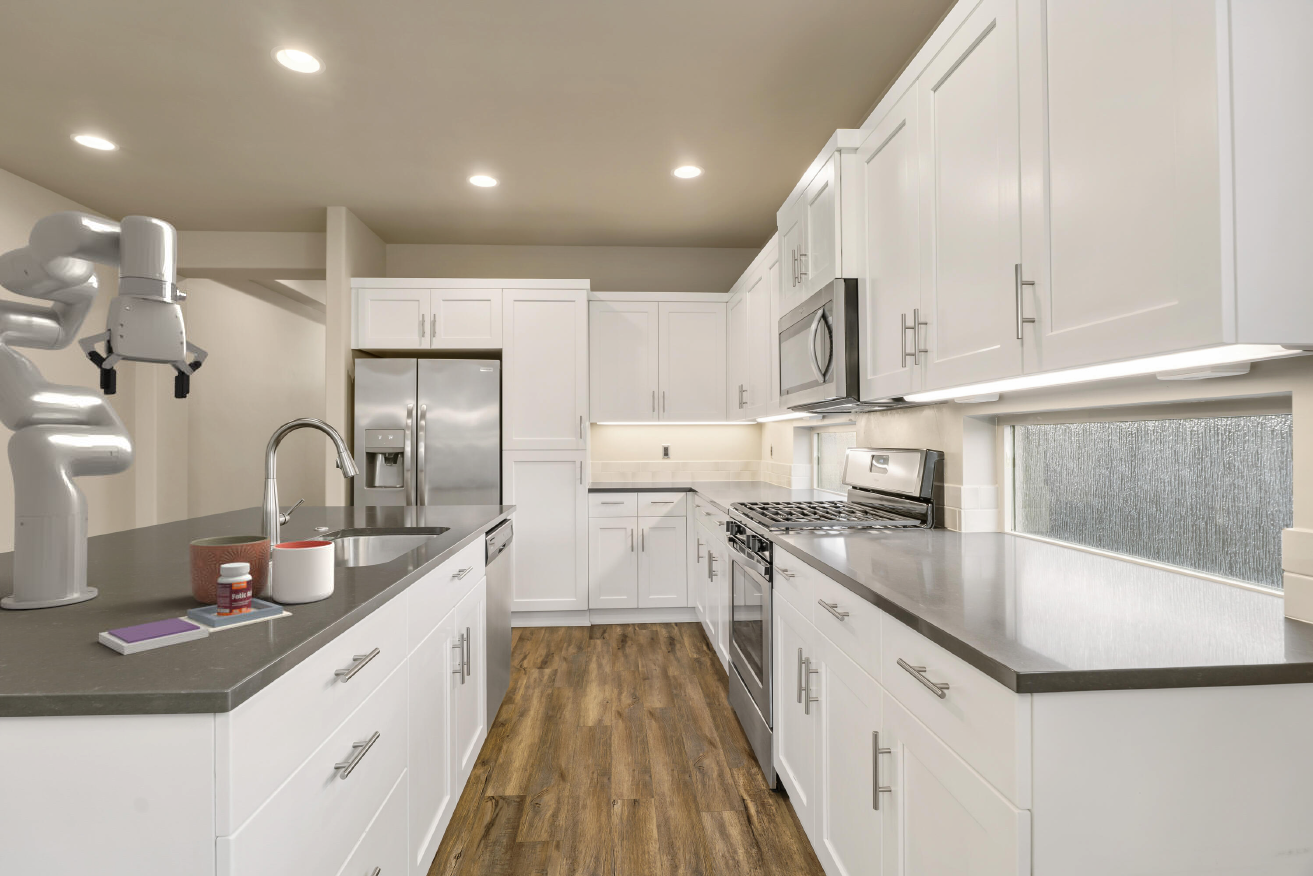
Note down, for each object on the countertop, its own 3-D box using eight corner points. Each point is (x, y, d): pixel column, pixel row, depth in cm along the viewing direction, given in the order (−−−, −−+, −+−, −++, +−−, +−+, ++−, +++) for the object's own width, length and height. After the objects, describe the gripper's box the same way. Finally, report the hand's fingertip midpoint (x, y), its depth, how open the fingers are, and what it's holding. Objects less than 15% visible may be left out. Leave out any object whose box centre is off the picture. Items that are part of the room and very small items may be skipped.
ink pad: (98, 641, 92) (99, 631, 92) (180, 625, 100) (180, 615, 100) (124, 655, 86) (124, 643, 86) (208, 636, 94) (208, 626, 94)
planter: (192, 612, 108) (193, 547, 108) (184, 598, 117) (185, 538, 117) (276, 600, 116) (276, 540, 116) (263, 588, 125) (263, 533, 125)
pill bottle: (234, 620, 102) (235, 568, 102) (209, 618, 103) (210, 566, 103) (258, 612, 107) (259, 562, 107) (234, 611, 108) (234, 561, 108)
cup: (273, 595, 120) (274, 542, 120) (333, 590, 125) (334, 539, 125) (269, 608, 111) (270, 550, 111) (333, 601, 116) (334, 546, 116)
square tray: (177, 619, 103) (177, 610, 103) (257, 604, 113) (257, 596, 113) (210, 632, 96) (210, 622, 96) (292, 615, 106) (292, 606, 106)
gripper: (198, 305, 116) (196, 400, 115) (72, 285, 101) (70, 393, 101) (216, 301, 111) (215, 399, 111) (88, 279, 97) (86, 392, 97)
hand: (146, 396), depth 106 cm, fingers open, 9 cm apart
